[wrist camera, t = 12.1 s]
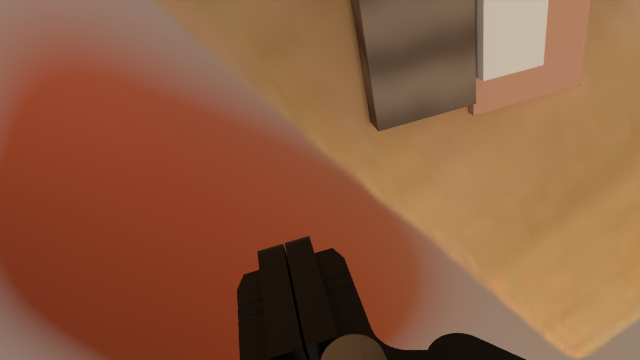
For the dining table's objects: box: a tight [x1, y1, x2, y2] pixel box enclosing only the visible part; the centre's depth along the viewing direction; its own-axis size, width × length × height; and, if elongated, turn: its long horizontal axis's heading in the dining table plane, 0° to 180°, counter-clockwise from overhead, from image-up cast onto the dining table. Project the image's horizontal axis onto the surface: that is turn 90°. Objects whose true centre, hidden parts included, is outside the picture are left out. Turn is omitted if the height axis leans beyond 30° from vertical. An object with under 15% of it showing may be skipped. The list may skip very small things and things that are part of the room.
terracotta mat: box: [469, 0, 591, 116], centre depth 40 cm, size 18×12×1 cm, turn 12°
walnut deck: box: [351, 0, 476, 131], centre depth 38 cm, size 14×10×2 cm
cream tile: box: [475, 0, 549, 81], centre depth 38 cm, size 9×6×2 cm, turn 12°
